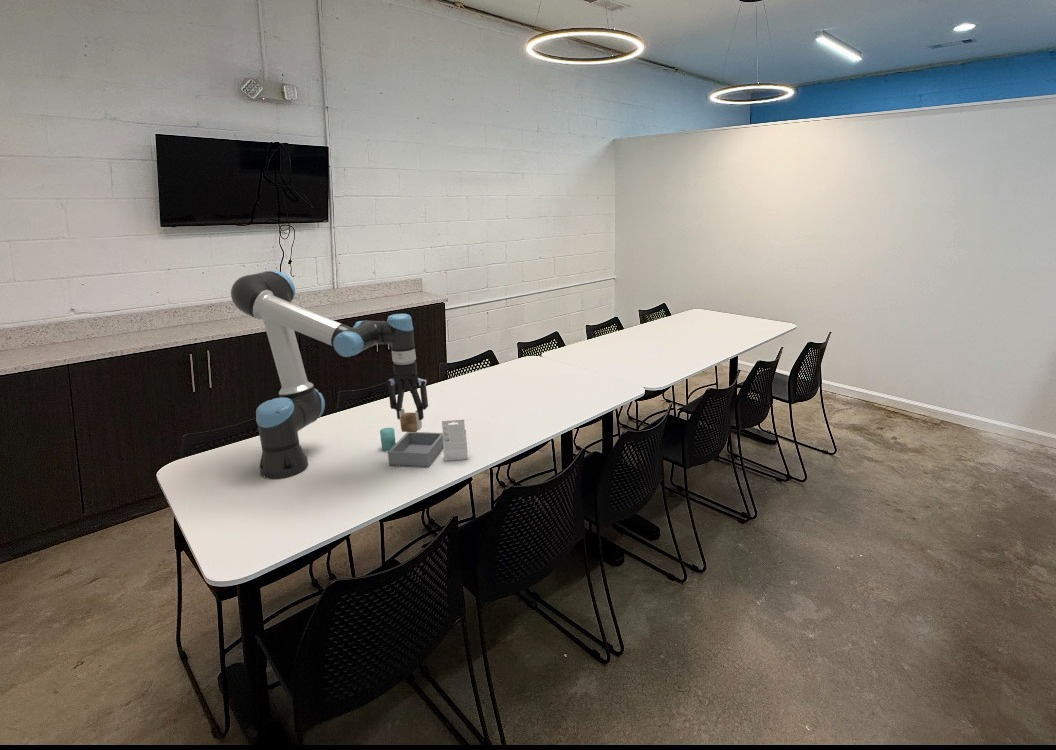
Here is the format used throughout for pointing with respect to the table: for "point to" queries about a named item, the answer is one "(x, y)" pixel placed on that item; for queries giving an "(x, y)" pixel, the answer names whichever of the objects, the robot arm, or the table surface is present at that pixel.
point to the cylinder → (387, 438)
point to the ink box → (454, 440)
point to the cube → (408, 422)
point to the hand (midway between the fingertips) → (411, 428)
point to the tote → (416, 449)
